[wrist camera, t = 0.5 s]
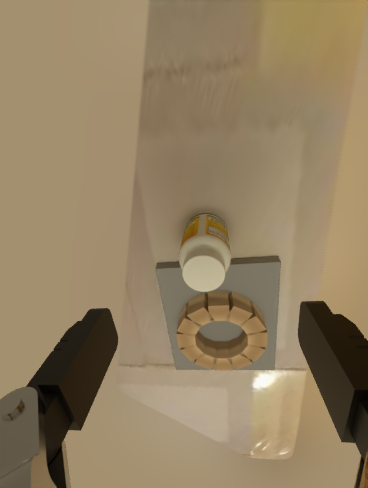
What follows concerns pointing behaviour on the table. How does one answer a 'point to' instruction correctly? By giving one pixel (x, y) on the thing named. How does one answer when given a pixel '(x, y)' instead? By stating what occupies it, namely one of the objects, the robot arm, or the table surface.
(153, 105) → the table surface
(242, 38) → the table surface
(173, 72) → the table surface
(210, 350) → the segmented wooden ring
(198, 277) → the supplement bottle
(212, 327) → the gray rectangular board
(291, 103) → the table surface
